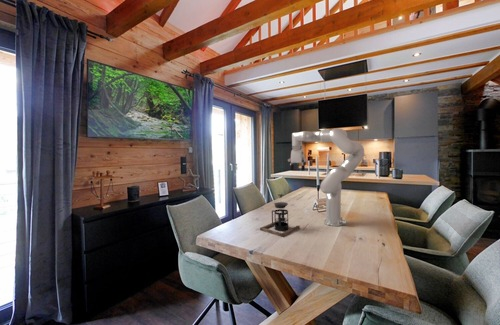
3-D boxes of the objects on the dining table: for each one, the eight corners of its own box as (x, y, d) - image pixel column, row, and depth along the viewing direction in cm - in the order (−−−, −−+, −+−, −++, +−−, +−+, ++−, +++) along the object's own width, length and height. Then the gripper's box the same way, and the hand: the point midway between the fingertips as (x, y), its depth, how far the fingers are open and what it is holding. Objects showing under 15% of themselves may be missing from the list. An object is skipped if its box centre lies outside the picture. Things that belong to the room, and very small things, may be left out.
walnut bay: (299, 228, 143) (299, 225, 143) (282, 236, 129) (282, 234, 129) (277, 222, 155) (277, 220, 155) (260, 230, 142) (259, 227, 141)
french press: (291, 227, 145) (290, 193, 144) (288, 232, 136) (287, 196, 135) (274, 225, 150) (273, 192, 149) (270, 230, 141) (269, 195, 140)
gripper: (309, 147, 164) (309, 170, 165) (290, 148, 176) (290, 169, 177) (304, 147, 159) (304, 171, 160) (285, 148, 171) (285, 170, 172)
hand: (297, 170), depth 168 cm, fingers open, 9 cm apart
